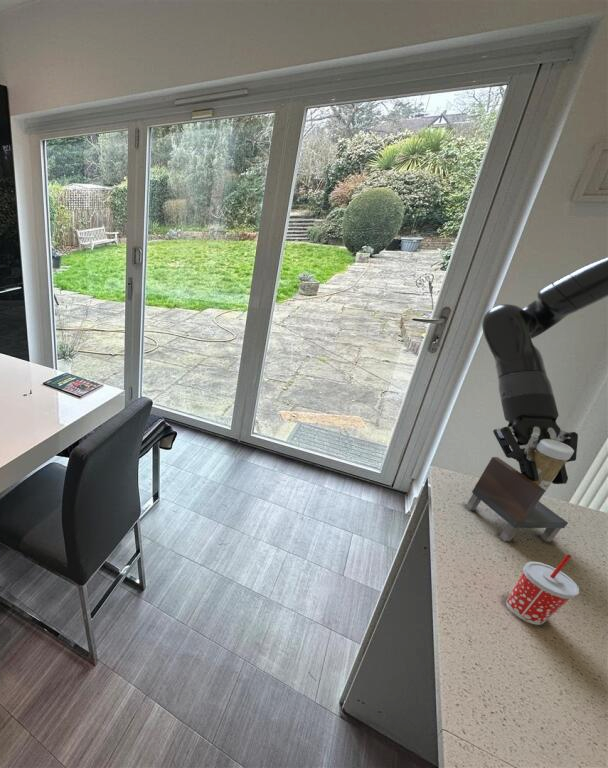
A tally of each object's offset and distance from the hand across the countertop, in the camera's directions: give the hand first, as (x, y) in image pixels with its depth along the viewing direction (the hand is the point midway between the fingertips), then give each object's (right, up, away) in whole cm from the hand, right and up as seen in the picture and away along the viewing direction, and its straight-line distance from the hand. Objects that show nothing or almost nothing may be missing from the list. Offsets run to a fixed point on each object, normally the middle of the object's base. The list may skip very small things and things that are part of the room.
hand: (545, 482), depth 78 cm
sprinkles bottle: (0, -5, +5) cm, 7 cm away
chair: (0, -11, +8) cm, 13 cm away
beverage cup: (-15, -20, -10) cm, 27 cm away
